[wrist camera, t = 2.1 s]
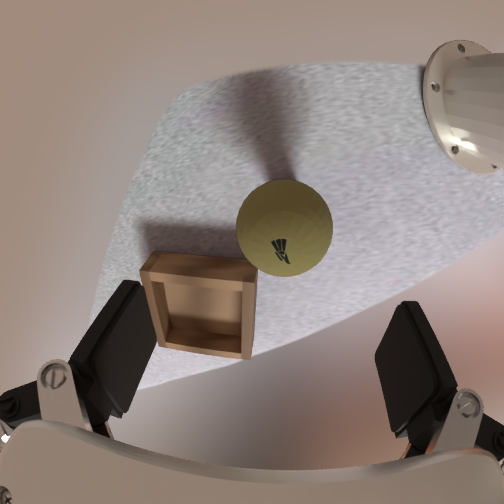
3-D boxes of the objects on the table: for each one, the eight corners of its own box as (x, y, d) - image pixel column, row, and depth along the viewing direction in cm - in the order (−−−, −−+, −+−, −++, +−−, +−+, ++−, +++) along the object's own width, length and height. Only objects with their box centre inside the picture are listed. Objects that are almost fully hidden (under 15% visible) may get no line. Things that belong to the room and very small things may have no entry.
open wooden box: (258, 260, 26) (254, 282, 23) (253, 336, 31) (250, 360, 28) (153, 251, 26) (139, 270, 23) (168, 325, 32) (158, 346, 29)
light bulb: (236, 189, 22) (205, 248, 14) (286, 143, 20) (289, 173, 11) (281, 234, 24) (279, 312, 15) (331, 194, 22) (362, 257, 13)
